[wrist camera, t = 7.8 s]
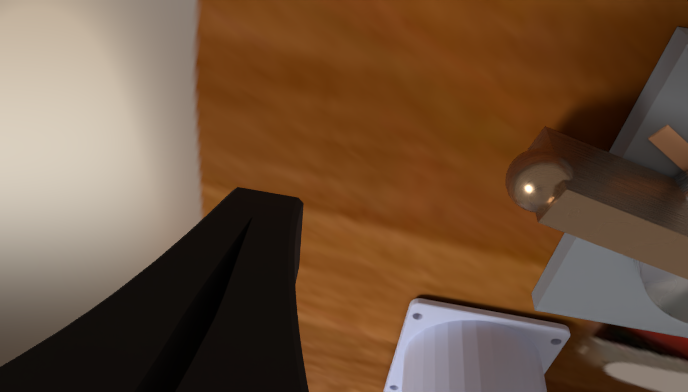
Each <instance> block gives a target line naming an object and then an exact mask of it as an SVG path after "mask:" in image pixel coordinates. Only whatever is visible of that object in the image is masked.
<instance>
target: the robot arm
mask: <svg viewBox="0 0 688 392" xmlns="http://www.w3.org/2000/svg"><path fill="white" fill-rule="evenodd" d="M302 217H303V202H302V201H301V200H300V199H299V198H297V197H291V196H286V195H280V194H274V193H268V192H263V191H257V190H251V189H245V188H240V187H237V188H236V189H234V190H233V191H232V192H231V193H230V194H229V195H228V196H226V197H225V198H224V199H223V200H222V201H221V202H220V203H219V204H218V205H217V206H216V207H215V208H214V209H213V210H212V211H211V212H210V213H209V214H208V215H207V216H206V217H204V218H203V219H202V220H201V221H200V222H199V223H198V224H197V225H196V226H195V227H194V228H193V229H191V230H190V231H189V232H188V233H187V234H186V235H185V236H183V237H182V238H181V239H180V240H179V241H178V242H177V243H175V244H174V245H173V246H172V247H171V248H170V249H168V250H167V251H166V252H165V253H164V254H163V255H162V256H160V257H159V258H158V259H157V260H156V261H154V262H153V263H152V264H151V265H149V266H148V267H147V268H145V269H144V270H143V271H142V272H140V273H139V274H138V275H137V276H135V277H134V278H133V279H132V280H130V281H129V282H128V283H126V284H125V285H124V286H122V287H121V288H120V289H119V290H117V291H116V292H115V293H113V294H112V295H111V296H109V297H108V298H106V299H105V300H104V301H102V302H101V303H99V304H98V305H97V306H95V307H94V308H92V309H91V310H90V311H88V312H87V313H85V314H84V315H82V316H81V317H79V318H78V319H76V320H75V321H73V322H72V323H70V324H69V325H68V326H66V327H65V328H63V329H61V330H60V331H58V332H57V333H55V334H53V335H52V336H50V337H49V338H47V339H45V340H44V341H42V342H41V343H39V344H37V345H36V346H34V347H32V348H31V349H29V350H28V351H26V352H24V353H23V354H21V355H20V356H18V357H16V358H15V359H13V360H11V361H10V362H8V363H6V364H4V365H3V366H1V367H0V392H309V390H308V385H307V379H306V373H305V367H304V361H303V355H302V348H301V341H300V333H299V324H298V315H297V305H296V291H295V283H296V278H297V273H298V269H299V260H300V246H301V231H302ZM570 335H571V334H570V331H569V328H568V327H567V326H566V325H563V324H559V323H554V322H548V321H543V320H537V319H532V318H526V317H521V316H515V315H510V314H504V313H499V312H493V311H488V310H482V309H477V308H471V307H466V306H460V305H455V304H449V303H444V302H438V301H433V300H427V299H422V298H417V299H414V300H412V301H411V302H410V305H409V308H408V311H407V315H406V318H405V321H404V324H403V328H402V331H401V334H400V338H399V341H398V344H397V347H396V351H395V354H394V357H393V360H392V364H391V367H390V370H389V374H388V377H387V380H386V383H385V387H384V392H547V388H546V383H545V378H544V374H545V373H546V371H547V370H548V368H549V367H550V365H551V364H552V362H553V361H554V359H555V358H556V356H557V355H558V354H559V352H560V351H561V349H562V348H563V346H564V345H565V343H566V342H567V340H568V339H569V337H570Z"/></svg>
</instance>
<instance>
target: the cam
mask: <svg viewBox="0 0 688 392" xmlns="http://www.w3.org/2000/svg"><path fill="white" fill-rule="evenodd" d="M506 188H507V191H508V194H509V196H510V197H511V199H512V200H513V201H514V202H515V203H516V204H517V205H518V206H520V207H521V208H523V209H525V210H527V211H530V212H536V216H537V220H538V222H539V223H541V224H544V225H546V226H549V227H552V228H554V229H557V230H559V231H562V232H565V233H567V234H570V235H572V236H575V237H578V238H580V239H583V240H586V241H588V242H591V243H593V244H596V245H599V246H601V247H604V248H606V249H609V250H612V251H614V252H617V253H619V254H622V255H625V256H627V257H630V258H632V260H633V263H634V265H635V268H636V270H637V272H638V274H639V277H640V279H641V281H642V284H643V286H644V288H645V290H646V292H647V294H648V296H649V298H650V299H651V300H652V302H653V303H654V304H655V305H656V306H657V307H658V308H659V309H661V310H662V311H663V312H664V313H666V314H668V315H669V316H671V317H673V318H675V319H677V320H679V321H682V322H684V323H687V324H688V170H686V171H684V172H682V173H681V174H680V175H678V176H677V177H675V178H674V179H673V178H671V177H668V176H666V175H663V174H661V173H658V172H656V171H654V170H651V169H649V168H646V167H644V166H641V165H639V164H636V163H634V162H631V161H629V160H627V159H624V158H622V157H619V156H617V155H614V154H612V153H609V152H607V151H605V150H602V149H600V148H597V147H595V146H592V145H590V144H587V143H585V142H582V141H580V140H578V139H575V138H573V137H570V136H568V135H565V134H563V133H560V132H558V131H555V130H553V129H551V128H548V127H546V126H545V127H544V129H543V130H542V131H541V133H540V134H539V135H538V137H537V138H536V139H535V141H534V142H533V143H532V145H531V146H530V147H529V149H528V150H527V151H525V152H523V153H522V154H520V155H519V156H517V157H516V158H515V159H514V160H513V161H512V163H511V164H510V166H509V168H508V170H507V173H506Z"/></svg>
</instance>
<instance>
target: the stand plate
mask: <svg viewBox="0 0 688 392" xmlns="http://www.w3.org/2000/svg"><path fill="white" fill-rule="evenodd" d="M609 153H612V154H614V155H617V156H619V157H622V158H624V159H627V160H629V161H631V162H634V163H636V164H639V165H641V166H644V167H646V168H649V169H651V170H654V171H656V172H658V173H661V174H663V175H666V176H668V177H671V178H673V179H674V178H675V177H677V176H678V175H680V174H681V173H682V172H684V171H686V170H688V28H682V27H677V28H676V30H675V32H674V34H673V35H672V37H671V39H670V41H669V43H668V45H667V46H666V48H665V50H664V52H663V54H662V56H661V57H660V59H659V61H658V63H657V65H656V67H655V68H654V70H653V72H652V74H651V76H650V78H649V79H648V81H647V83H646V85H645V87H644V89H643V90H642V92H641V94H640V96H639V98H638V100H637V101H636V103H635V105H634V107H633V109H632V111H631V112H630V114H629V116H628V118H627V120H626V122H625V123H624V125H623V127H622V129H621V131H620V133H619V134H618V136H617V138H616V140H615V142H614V144H613V145H612V147H611V149H610V151H609ZM532 298H533V303H534V308H535V310H536V311H542V312H547V313H553V314H558V315H564V316H569V317H575V318H581V319H586V320H592V321H597V322H603V323H608V324H614V325H619V326H625V327H630V328H636V329H641V330H647V331H652V332H658V333H663V334H669V335H674V336H680V337H686V338H688V324H687V323H684V322H682V321H679V320H677V319H675V318H673V317H671V316H669V315H668V314H666V313H664V312H663V311H662V310H661V309H659V308H658V307H657V306H656V305H655V304H654V303H653V302H652V300H651V299H650V298H649V296H648V294H647V292H646V290H645V288H644V286H643V284H642V281H641V279H640V277H639V274H638V272H637V270H636V268H635V265H634V263H633V260H632V258H630V257H627V256H625V255H622V254H619V253H617V252H614V251H612V250H609V249H606V248H604V247H601V246H599V245H596V244H593V243H591V242H588V241H586V240H583V239H580V238H578V237H575V236H572V235H570V234H567V233H564V235H563V237H562V239H561V241H560V242H559V244H558V246H557V248H556V250H555V252H554V253H553V255H552V257H551V259H550V261H549V263H548V264H547V266H546V268H545V270H544V272H543V274H542V275H541V277H540V279H539V281H538V283H537V285H536V286H535V288H534V290H533V292H532Z"/></svg>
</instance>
